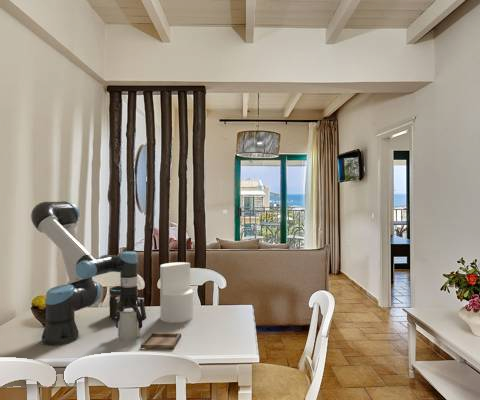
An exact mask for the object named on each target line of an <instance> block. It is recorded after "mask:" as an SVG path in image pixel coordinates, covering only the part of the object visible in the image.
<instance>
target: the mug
mask: <svg viewBox="0 0 480 400" xmlns="http://www.w3.org/2000/svg"><path fill="white" fill-rule="evenodd" d="M120 287H121V285H115V286H111V287H109V290H108V291H109V301H108V303H109V304H108V305H109V319H111V320H112V314H113V308H114V299H115V298H116V297H118V298H119V297H120V296H121V294H120ZM121 305H122V302H121V301H119V305H118V311H117V315H118V313H119V311H120V308H121ZM127 308H132V307H130V306H126V307H125V309H127Z"/></svg>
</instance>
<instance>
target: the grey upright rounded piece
mask: <svg viewBox="0 0 480 400" xmlns="http://www.w3.org/2000/svg"><path fill="white" fill-rule="evenodd" d="M137 321H138V319H137V317H136V312H134V310H133V308H127V309H124V310H123V311H120V336H119V339H120V340H121V341H122V340H123V341H132V340H136V339H137V338H139V336H137Z"/></svg>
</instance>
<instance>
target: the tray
mask: <svg viewBox="0 0 480 400" xmlns="http://www.w3.org/2000/svg"><path fill="white" fill-rule="evenodd" d="M181 338H182V333H181V332H179V333H178V332H150V334H148V336H147V337H146V338H145V339H144V340H143V341H142V342H141V343H140V349H141V348H145V349H144V350H170V351H171V350H172V351H173V350H174V349H175V348H176V346H177V345H178V343H179V342H180V340H181Z"/></svg>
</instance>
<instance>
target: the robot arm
mask: <svg viewBox="0 0 480 400" xmlns="http://www.w3.org/2000/svg"><path fill="white" fill-rule="evenodd" d="M80 216H81V215H80V211H79V208H78V206H77V205H76V204H75V203H74V202H70V201H64V200H61V201H42V202H39V203H38V204H36V205H35V206H34V207H33V208H32V211H31V213H30V219H31V223H32V224H33V226H34V228H36V230H37V231H38V232H40V233H43V234H44V235H46V236H47V237H48V238H49V239H50V240H51V242H52V243H53V244H54V245H55V246H56V247H57V248H59V251H61V255H62V258H63V262H64V265H65V270H66V274H67V276H68V277H67V278H68V282H67V283H66V284H62V285H57V286H54V287H52V288H49V289H48V290H47V291H46V293H45V300H44V301H45V302H44V303H45V325H44V329H43V332H42V334H41V338H40V339H41V340H40V341H41V344H42V345H44V346H49V347H50V346H61V345H62V346H63V345H66V344H70V343H73V342H74V341H75V342H76V340H78V339H79V336H80V332H79V329H78V326H77V322H76V319H75V312H76V311H80V310H82V309H85V308H89V307H91V306H93V305H95V304H97V302H98V301H100V298H101V294H102V289H101V286H100V284H99V282H97V281H96V280H93V277H96V276H100V275H104V274H105V275H106V274H108V273H112V272H113V273H120V274H119V277H120V282H119V283H120V285H119V286H121V287H120V294H121V296H120V297H119V298H118V297H116V298H115V299H114V308H113V314H112V319H111V320H112V321H115V327H116V329H117V336H118V337H120V311H123V310H124V309H125V307H126V306H130V307H132V308H133V310H134V312H136V317H137V319H138V321H137V336H138V337H140V336H141V329H142V328H143V322H144V321H145V320H146V319H147V313H146V308H145V297H139V295H138V283H139V282H138V263H139V262H138V261H139V260H138V253H137V252H136V251H130V250H129V251H122V252H121V253H120V255H114V254H113V255H111V254H103V255H100V256H99V257H96V258H95V257H94V256H93V255H92V254H91V253H90V252H89V251H88V250H87V249H86V248H85V247H84V246H83V245H82V244H81V243H80V241H79V238H78V234H77V230H76V227H77V226H78V221H79V219H80ZM119 301H121V302H122V305H121V308H120V311H119V313H118V315H117V311H118V305H119ZM137 302H138V303H139V307H138V304H137Z"/></svg>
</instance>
